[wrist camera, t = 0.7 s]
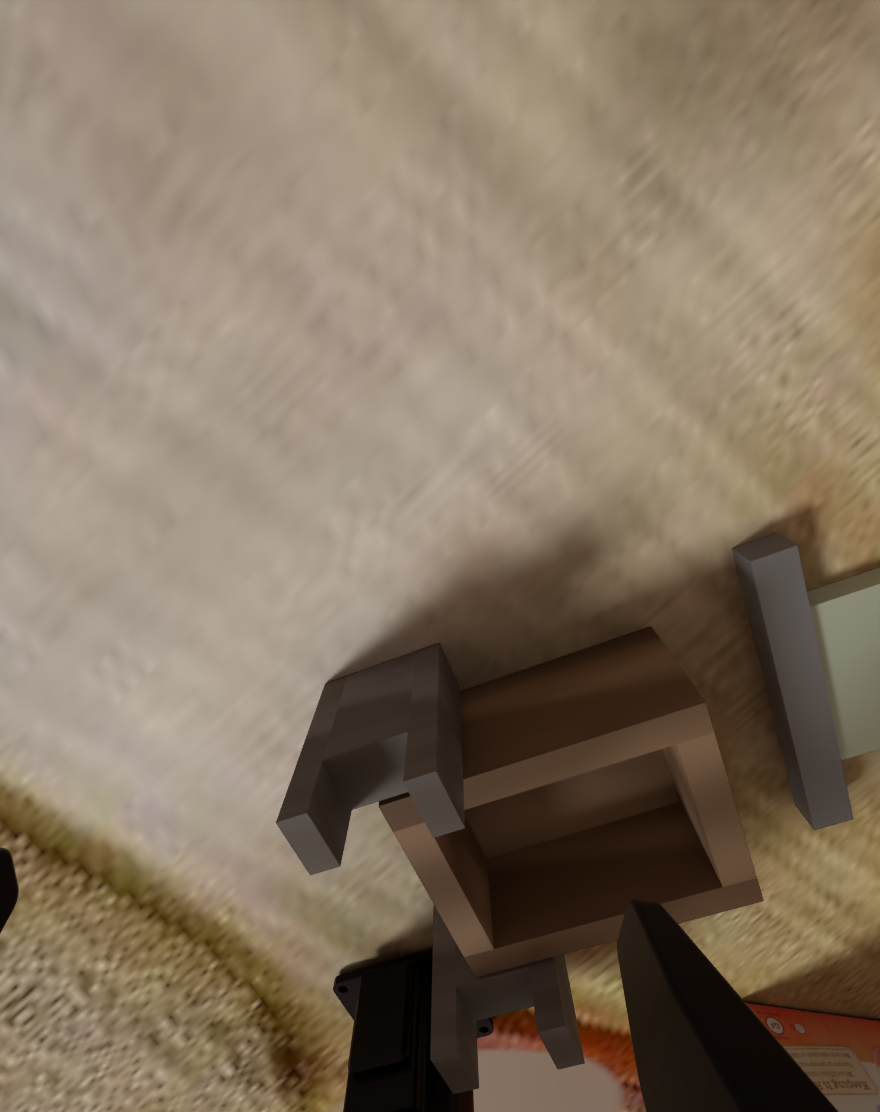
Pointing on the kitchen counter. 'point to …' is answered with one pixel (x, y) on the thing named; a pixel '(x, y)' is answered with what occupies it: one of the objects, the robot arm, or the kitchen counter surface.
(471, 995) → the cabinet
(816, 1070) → the cracker box
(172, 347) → the kitchen counter surface
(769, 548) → the door
